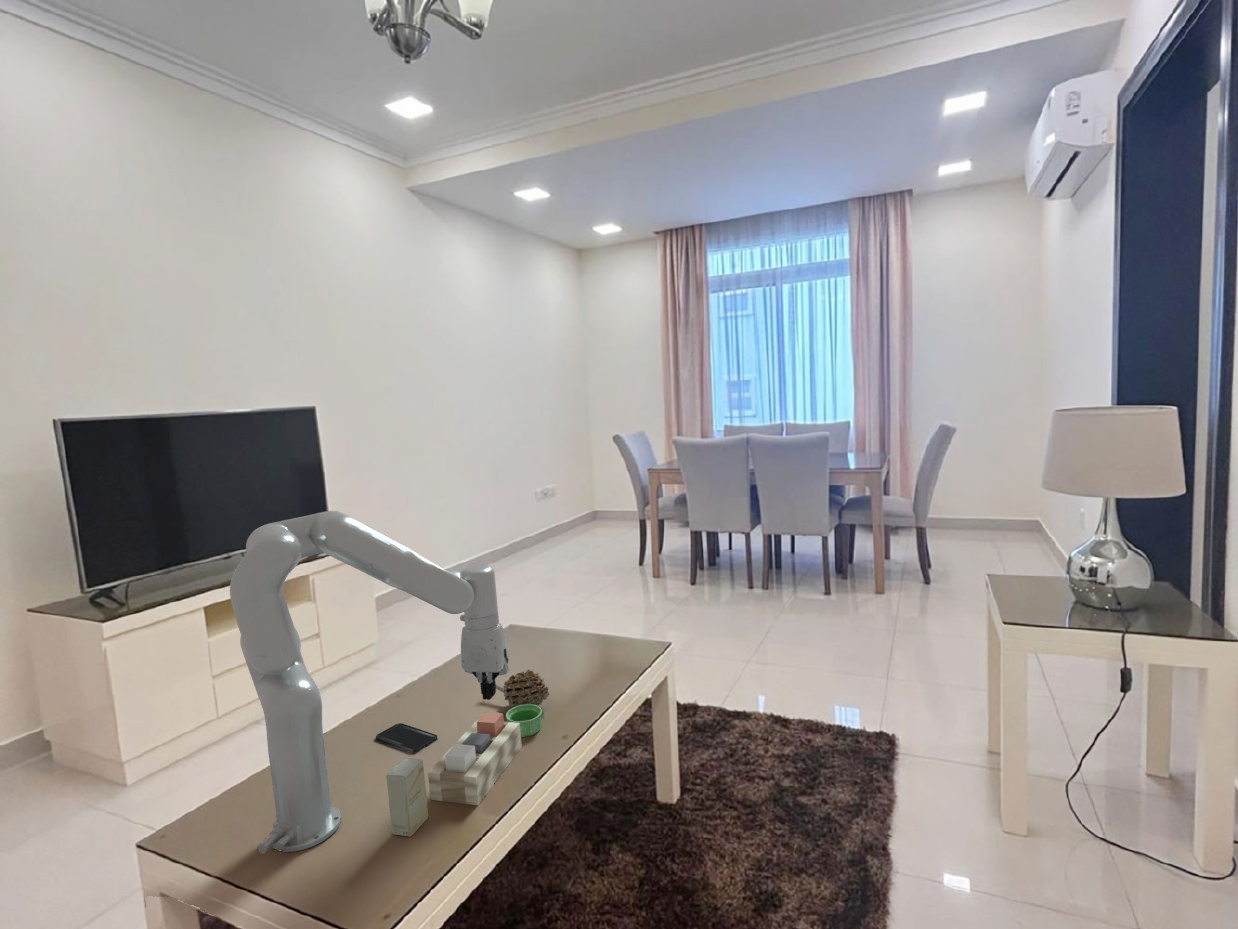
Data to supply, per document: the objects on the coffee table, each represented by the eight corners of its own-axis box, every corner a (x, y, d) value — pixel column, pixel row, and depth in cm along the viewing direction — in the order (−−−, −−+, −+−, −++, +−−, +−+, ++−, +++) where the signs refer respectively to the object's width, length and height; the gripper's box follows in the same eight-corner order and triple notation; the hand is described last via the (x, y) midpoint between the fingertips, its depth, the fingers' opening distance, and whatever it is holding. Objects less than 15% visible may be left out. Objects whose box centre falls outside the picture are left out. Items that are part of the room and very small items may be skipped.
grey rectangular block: (482, 769, 137) (480, 745, 137) (464, 767, 139) (462, 743, 138) (491, 757, 142) (490, 734, 141) (473, 755, 143) (471, 732, 142)
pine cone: (559, 703, 170) (556, 668, 169) (538, 720, 162) (535, 683, 161) (495, 689, 181) (492, 656, 180) (472, 704, 173) (469, 670, 172)
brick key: (496, 746, 144) (494, 723, 144) (478, 744, 145) (476, 721, 145) (504, 735, 148) (503, 713, 148) (487, 734, 150) (485, 712, 149)
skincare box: (410, 838, 120) (404, 777, 119) (390, 834, 121) (384, 775, 120) (429, 816, 126) (424, 759, 125) (410, 813, 127) (404, 756, 126)
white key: (466, 782, 131) (464, 757, 130) (447, 780, 132) (444, 755, 131) (476, 770, 135) (474, 745, 134) (458, 768, 136) (455, 743, 136)
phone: (399, 722, 164) (439, 735, 156) (399, 726, 164) (439, 740, 156) (373, 736, 157) (413, 751, 149) (373, 741, 157) (414, 756, 149)
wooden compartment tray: (478, 805, 128) (475, 777, 128) (430, 799, 131) (427, 772, 131) (521, 747, 150) (519, 722, 149) (479, 743, 152) (477, 719, 152)
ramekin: (521, 743, 152) (520, 725, 151) (500, 731, 158) (498, 714, 157) (550, 727, 158) (549, 711, 158) (528, 716, 164) (527, 700, 164)
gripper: (444, 625, 142) (452, 703, 144) (505, 627, 138) (512, 706, 140) (460, 614, 150) (467, 688, 151) (518, 615, 146) (525, 691, 148)
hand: (489, 696), depth 146 cm, fingers closed
